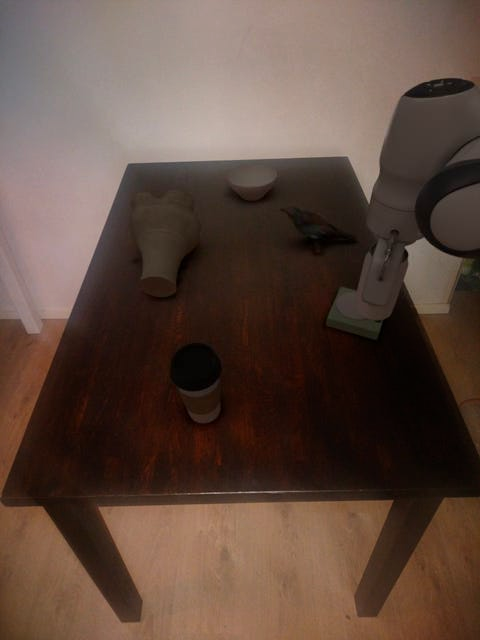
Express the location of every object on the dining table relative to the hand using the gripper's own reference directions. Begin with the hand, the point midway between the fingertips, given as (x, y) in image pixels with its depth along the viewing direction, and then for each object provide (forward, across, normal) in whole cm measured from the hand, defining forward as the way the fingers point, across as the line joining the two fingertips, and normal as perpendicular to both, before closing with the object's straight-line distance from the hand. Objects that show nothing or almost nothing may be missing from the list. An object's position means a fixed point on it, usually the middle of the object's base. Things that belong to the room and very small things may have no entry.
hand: (378, 288), depth 63 cm
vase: (+20, +9, +52) cm, 56 cm away
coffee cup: (+20, -22, +23) cm, 38 cm away
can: (+5, 0, 0) cm, 5 cm away
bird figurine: (+20, +36, +19) cm, 45 cm away
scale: (+20, +12, +3) cm, 23 cm away
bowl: (+20, +54, +46) cm, 74 cm away
